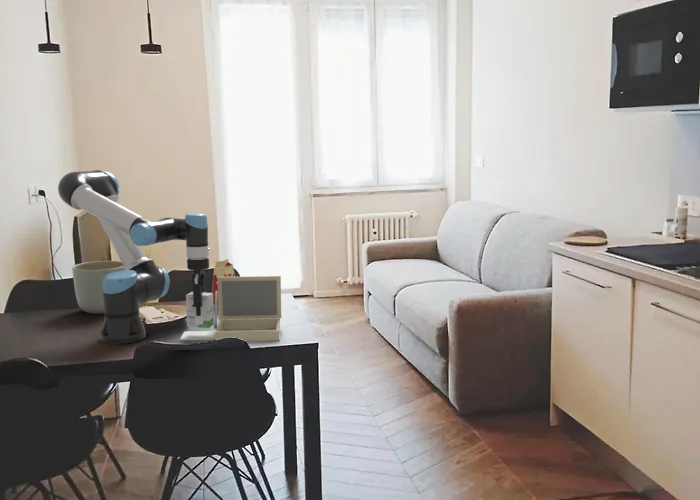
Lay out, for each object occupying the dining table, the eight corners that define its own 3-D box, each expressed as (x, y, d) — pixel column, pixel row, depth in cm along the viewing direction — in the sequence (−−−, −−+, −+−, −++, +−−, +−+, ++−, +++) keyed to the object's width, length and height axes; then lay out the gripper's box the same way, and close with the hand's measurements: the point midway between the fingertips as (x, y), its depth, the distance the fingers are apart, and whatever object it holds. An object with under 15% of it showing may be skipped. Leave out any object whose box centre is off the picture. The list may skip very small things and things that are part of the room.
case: (211, 341, 232) (209, 286, 229) (217, 328, 249) (215, 276, 246) (280, 340, 234) (279, 285, 231) (281, 326, 251) (280, 275, 248)
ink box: (186, 327, 237) (184, 294, 234) (192, 322, 242) (190, 291, 239) (209, 328, 235) (207, 295, 233) (215, 323, 240) (213, 292, 238)
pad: (180, 340, 234) (180, 338, 234) (184, 333, 243) (184, 331, 243) (217, 339, 235) (217, 337, 235) (220, 332, 244) (220, 330, 244)
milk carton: (240, 304, 286) (239, 258, 283) (225, 308, 278) (224, 261, 275) (224, 301, 291) (223, 256, 287) (209, 305, 283) (207, 259, 280)
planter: (98, 320, 260) (95, 272, 257) (64, 312, 271) (61, 266, 268) (140, 308, 278) (137, 263, 275) (107, 302, 289) (104, 259, 285)
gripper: (205, 262, 225) (207, 328, 229) (212, 253, 244) (214, 314, 248) (182, 262, 225) (185, 329, 228) (191, 253, 243) (193, 315, 247)
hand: (200, 321), depth 238 cm, fingers closed on ink box, 6 cm apart
